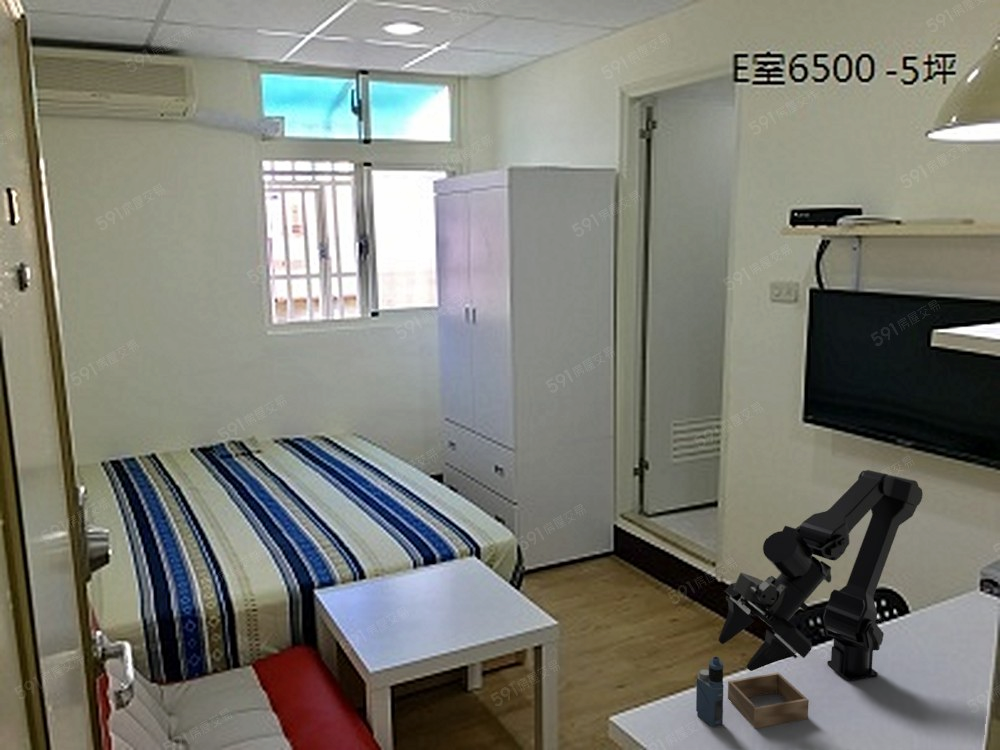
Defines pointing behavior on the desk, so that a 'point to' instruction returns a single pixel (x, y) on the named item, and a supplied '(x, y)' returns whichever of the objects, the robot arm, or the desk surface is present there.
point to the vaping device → (710, 693)
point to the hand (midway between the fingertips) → (733, 655)
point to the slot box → (771, 713)
